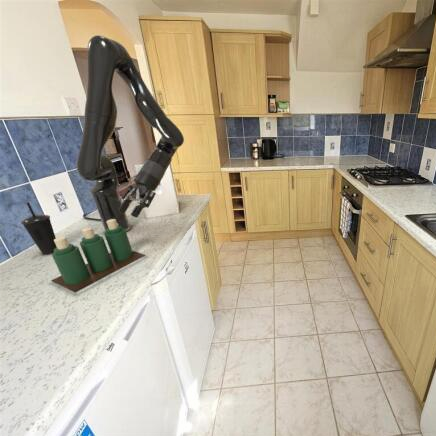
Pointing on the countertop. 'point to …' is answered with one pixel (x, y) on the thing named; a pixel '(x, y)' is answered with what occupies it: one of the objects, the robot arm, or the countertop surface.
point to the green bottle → (118, 241)
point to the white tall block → (163, 196)
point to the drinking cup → (40, 231)
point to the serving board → (98, 273)
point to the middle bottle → (95, 251)
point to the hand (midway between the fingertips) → (127, 214)
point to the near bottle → (69, 262)
